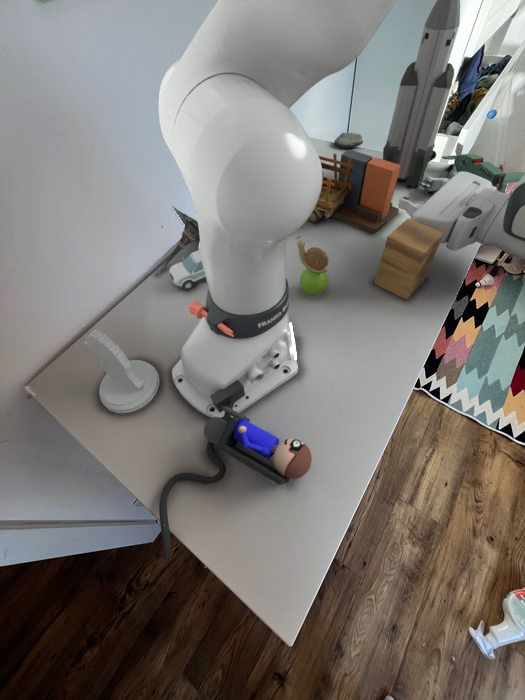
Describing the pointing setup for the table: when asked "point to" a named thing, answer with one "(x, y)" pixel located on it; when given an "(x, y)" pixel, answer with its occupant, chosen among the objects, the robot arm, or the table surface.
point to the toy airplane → (480, 169)
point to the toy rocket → (423, 95)
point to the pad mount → (359, 197)
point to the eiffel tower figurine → (185, 234)
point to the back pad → (379, 185)
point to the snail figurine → (313, 269)
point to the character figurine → (259, 447)
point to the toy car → (188, 271)
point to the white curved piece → (122, 376)
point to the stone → (348, 140)
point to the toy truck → (331, 189)
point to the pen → (445, 174)
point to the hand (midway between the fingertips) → (412, 191)
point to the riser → (407, 257)
